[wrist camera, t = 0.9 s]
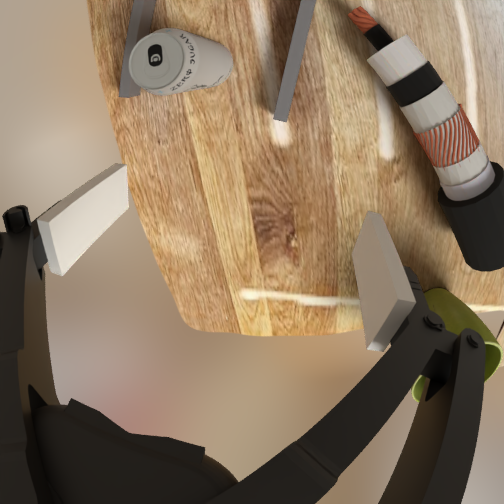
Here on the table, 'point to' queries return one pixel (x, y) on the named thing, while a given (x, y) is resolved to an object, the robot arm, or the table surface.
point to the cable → (444, 145)
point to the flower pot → (460, 330)
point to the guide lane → (141, 28)
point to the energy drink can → (178, 62)
